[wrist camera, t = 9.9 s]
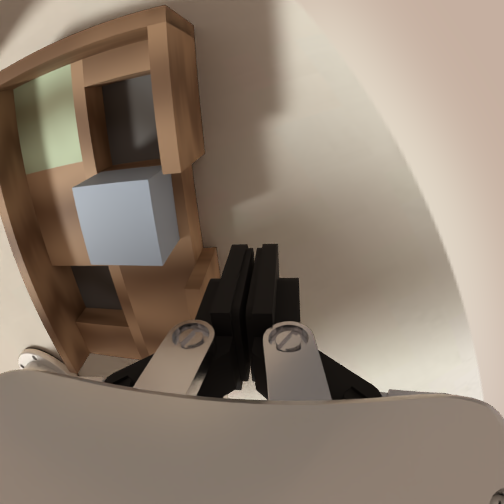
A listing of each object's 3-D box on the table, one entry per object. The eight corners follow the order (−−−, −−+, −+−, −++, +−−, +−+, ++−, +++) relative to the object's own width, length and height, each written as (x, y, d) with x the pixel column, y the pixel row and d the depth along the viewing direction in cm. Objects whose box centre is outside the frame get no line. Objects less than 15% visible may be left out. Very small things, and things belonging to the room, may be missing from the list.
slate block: (179, 239, 21) (162, 265, 17) (114, 240, 21) (91, 264, 18) (169, 164, 18) (148, 179, 15) (100, 172, 19) (71, 187, 16)
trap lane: (230, 345, 28) (221, 392, 23) (92, 335, 30) (69, 372, 25) (193, 25, 16) (165, 4, 11) (24, 79, 18) (-23, 85, 13)
